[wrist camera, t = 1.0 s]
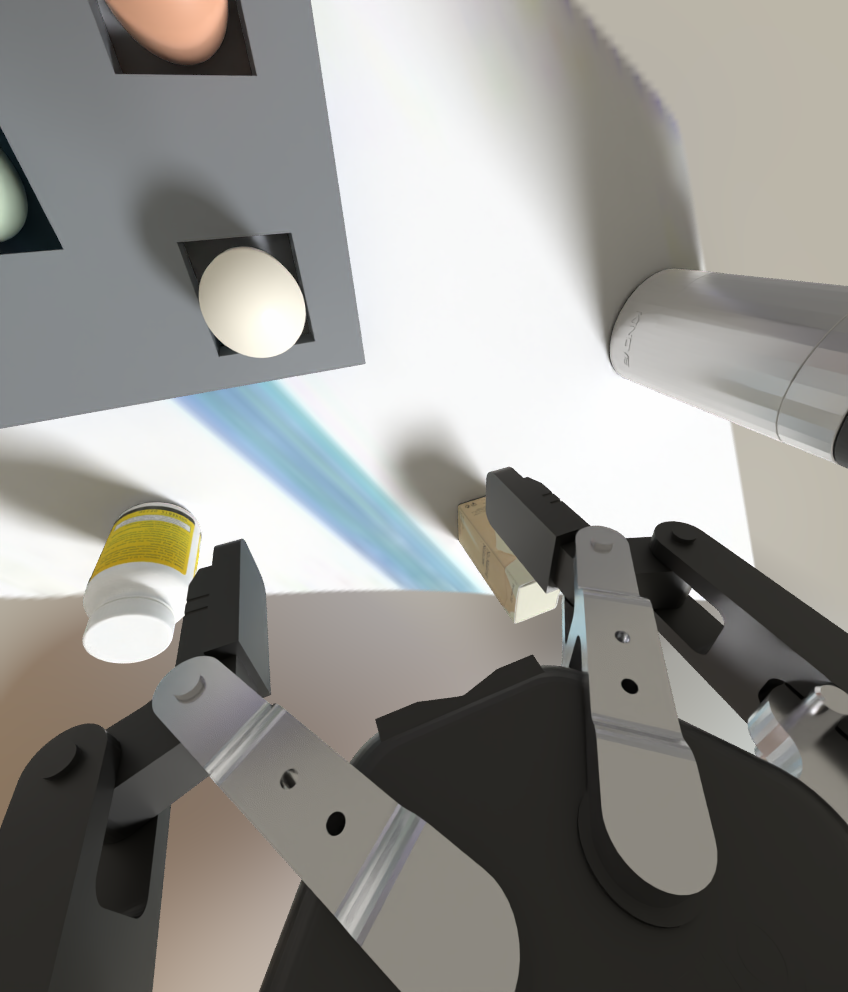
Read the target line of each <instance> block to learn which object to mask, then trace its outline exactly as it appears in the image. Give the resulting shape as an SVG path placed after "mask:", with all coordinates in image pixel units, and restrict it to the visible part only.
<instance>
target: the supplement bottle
mask: <svg viewBox="0 0 848 992" xmlns="http://www.w3.org/2000/svg"><path fill="white" fill-rule="evenodd" d="M200 544H201V527H200V524H199V522H198V521H197V519H196V518H195V517H194V516H193V515H192V514H191V513H190V512H188V511H187V510H185V509H183V508H181V507H179V506H176V505H173V504H169V503H162V502H150V503H144V504H140V505H137V506H134V507H132V508H130V509H128V510H126V511H125V512H124V513H122V514H121V515H120V516H119V517H118V519H117V520H116V522H115V524H114V526H113V528H112V530H111V532H110V534H109V537H108V539H107V541H106V543H105V546H104V548H103V551H102V553H101V555H100V557H99V560H98V562H97V564H96V566H95V569H94V571H93V573H92V576H91V578H90V580H89V582H88V585H87V588H86V590H85V593H84V597H83V605H84V609H85V612H86V614H87V615H88V617H89V621H88V625H87V627H86V630H85V632H84V635H83V645H84V648H85V649H86V651H87V652H88V653H89V654H91V655H92V656H94V657H96V658H98V659H101V660H103V661H107V662H112V663H133V662H139V661H143V660H146V659H149V658H152V657H154V656H156V655H158V654H159V653H161V652H162V651H163V650H165V649H166V648H167V647H168V645H169V644H170V642H171V640H172V637H173V632H174V627H175V623H176V622H177V621H179V620H180V619H181V618H182V617H183V616H184V615H185V614H184V611H185V605H186V603H187V601H186V599H187V593H188V586H189V584H190V582H191V581H192V579H193V578H194V576H195V575H196V571H197V565H198V558H199V551H200Z"/></svg>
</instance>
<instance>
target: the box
mask: <svg viewBox="0 0 848 992" xmlns="http://www.w3.org/2000/svg"><path fill="white" fill-rule="evenodd" d="M458 534H459V542H460V543H461V545H462V546H463V548H464V549H465V551H466V552H467V554H468V555H469V557H470V558H471V560H472V562H473V563H474V565H475V566H476V568H477V569H478V571H479V572H480V573H481V575H482V576H483V578H484V579H485V581H486V582H487V584H488V585H489V587H490V588H491V590H492V591H493V593H494V594H495V596H496V597H497V599H498V600H499V602H500V603H501V605H502V606H503V608H504V609H505V611H506V612H507V614H508V615H509V617H510V618H511V620H512V621H513V623H518V622H521V621H524V620H526V619H529V618H531V617H534V616H536V615H539V614H542V613H544V612H546V611H549V610H552V609H554V608H555V607H556V606H557V602H558V597H559V593H560V590H559V589H558V590H555V591H553V592H550V593H547V594H546V593H545V592H544V591H543V589H542V588H541V587H540V586H539V585H538V583H537V582H536V581H535V580H534V578H533V577H532V576H531V575H530V573H529V572H528V571H527V570H526V568H525V567H524V566H523V565H522V564H521V562H520V561H519V560H518V559H517V557H516V556H515V555H514V554H513V552H512V551H511V550H510V549H509V547H508V546H507V545H506V544H505V543H504V541H503V540H502V539H501V538H500V536H499V535H498V534H497V533H496V531H495V530H494V529H493V528H492V526H491V525H490V523H489V521H488V519H487V515H486V497H482V498H479V499H476V500H473V501H470V502H466V503H463V504H460V505H459V506H458Z"/></svg>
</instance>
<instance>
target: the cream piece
mask: <svg viewBox="0 0 848 992" xmlns="http://www.w3.org/2000/svg"><path fill="white" fill-rule="evenodd" d="M199 303H200V308H201V312H202V315H203V317H204V319H205V322H206V323H207V325H208V327H209V328H210V330H211V331H212V332H213V334H214V335H215V336H216V337H217V338H218V339H219V340H220V341H221V342H222V343H223V344H224V345H226V346H227V347H229V348H230V349H232V350H234V351H236V352H238V353H240V354H243V355H246V356H250V357H256V358H267V357H273V356H276V355H279V354H281V353H283V352H285V351H287V350H288V349H289V348H291V347H292V346H293V345H294V344H295V343H296V341H297V340H298V339H299V337H300V335H301V333H302V330H303V328H304V323H305V316H306V312H305V303H304V299H303V295H302V292H301V290H300V288H299V286H298V284H297V282H296V281H295V279H294V278H293V276H292V275H291V274H290V273H289V272H288V270H287V269H286V268H285V267H284V266H283V265H282V264H281V263H280V262H279V261H278V260H277V259H275V258H274V257H273V256H271V255H270V254H268V253H266V252H265V251H262V250H260V249H257V248H253V247H247V246H238V247H233V248H230V249H227V250H225V251H223V252H221V253H220V254H219V255H218V256H217V257H216V258H215V259H214V260H213V261H212V262H211V263H210V264H209V266H208V267H207V268H206V270H205V272H204V274H203V276H202V278H201V282H200V285H199Z"/></svg>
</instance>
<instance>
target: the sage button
mask: <svg viewBox="0 0 848 992" xmlns="http://www.w3.org/2000/svg"><path fill="white" fill-rule="evenodd" d="M27 211H28V203H27V196H26V191H25V188H24V185H23V182H22V180H21V178H20V176H19V174H18V172H17V170H16V169H15V167H14V165H13V163H12V162H11V161H10V159H9V158H8V156H7V155H6V154H5V153H4V151H3V150H2V149H1V148H0V242H4V241H7V240H8V239H10V238H12V237H14V236H15V235H16V234H17V233H18V232H19V231H20V230H21V229H22V227H23V225H24V223H25V221H26V217H27Z"/></svg>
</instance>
